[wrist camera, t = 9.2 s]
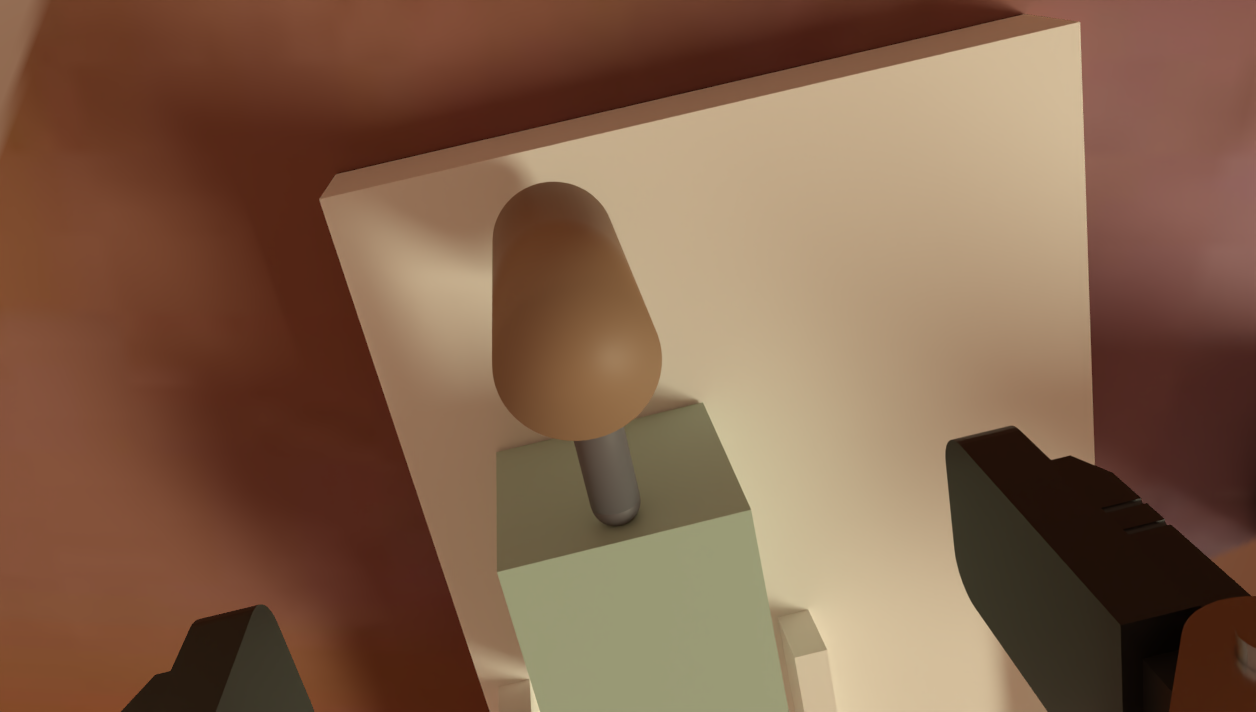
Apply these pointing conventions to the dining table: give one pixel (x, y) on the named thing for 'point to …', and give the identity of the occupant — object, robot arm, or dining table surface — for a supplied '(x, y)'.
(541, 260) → the pull block
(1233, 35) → the dining table surface
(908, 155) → the shelf
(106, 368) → the dining table surface
